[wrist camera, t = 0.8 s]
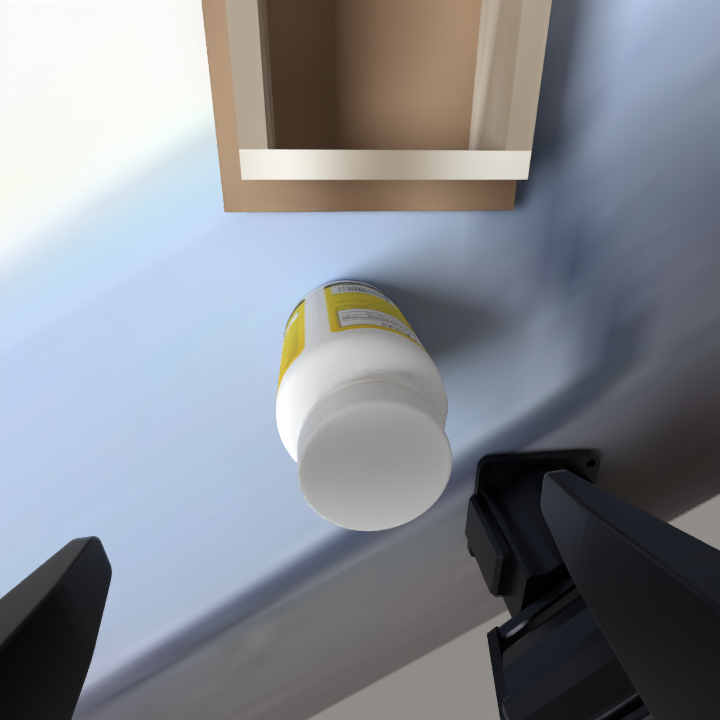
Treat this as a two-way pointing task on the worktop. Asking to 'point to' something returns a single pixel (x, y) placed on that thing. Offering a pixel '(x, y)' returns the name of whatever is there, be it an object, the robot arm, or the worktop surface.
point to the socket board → (374, 102)
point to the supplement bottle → (361, 409)
